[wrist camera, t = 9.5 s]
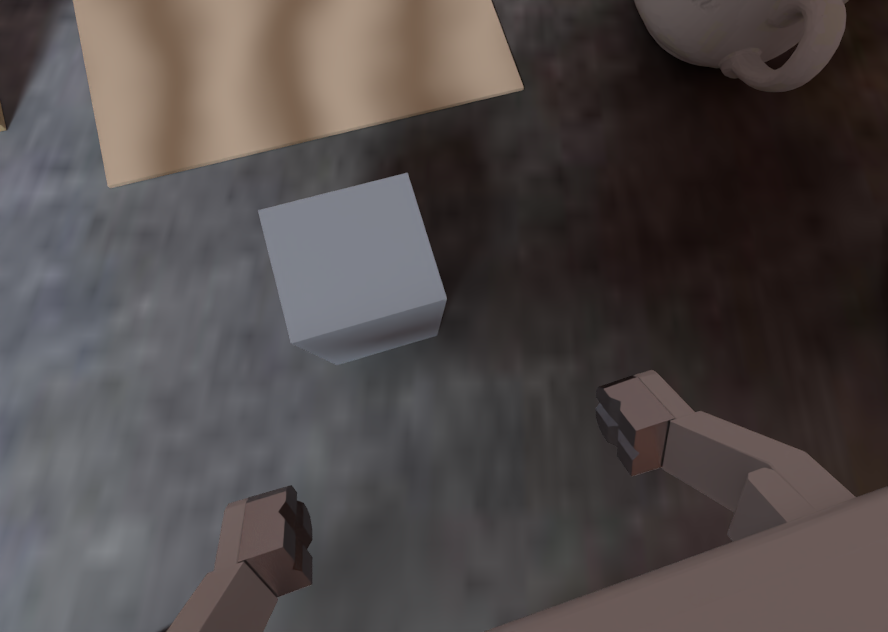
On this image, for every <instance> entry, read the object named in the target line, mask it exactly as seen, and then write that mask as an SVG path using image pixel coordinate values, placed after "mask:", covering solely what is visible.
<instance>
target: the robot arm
mask: <svg viewBox="0 0 888 632" xmlns="http://www.w3.org/2000/svg"><path fill="white" fill-rule="evenodd" d="M596 398H597V399H598V401H599V402H600V404H599V405H598V406H597V408H596V419H597V423H598V426H599V429H600V431H601V433H602V435H603V436H604V438H605V439H606V441H607V442H608V443H610V444H612V445H614V446H616V447H617V457H618V458H619V460H620V461H621V463H622V464H623V466H624V467H625V468H626V470H627V471H628V473H629V474H630V476H631V477H632V476H635V475H638V474H641V473H645V472H648V471H651V470H654V469H658V468H661V467H662V469H663V470H665V471H667V472H668V473H670V474H672V475H673V476H675V477H677V478H678V479H680V480H682V481H683V482H685V483H687V484H688V485H690V486H692V487H693V488H695V489H697V490H698V491H700V492H702V493H703V494H705V495H706V496H708V497H710V498H711V499H713V500H715V501H716V502H718V503H720V504H721V505H723V506H725V507H726V508H728V509H730V510H731V511H733V512H734V515H733V518H732V521H731V524H730V527H729V530H728V536H729V537H730V538H731V540H732V541H733V542H731V543H728V544H725V545H723V546H720V547H717V548H714V549H712V550H709V551H706V552H703V553H700V554H698V555H695V556H692V557H689V558H687V559H684V560H681V561H678V562H675V563H673V564H670V565H667V566H664V567H662V568H659V569H656V570H653V571H650V572H648V573H645V574H642V575H639V576H637V577H634V578H631V579H628V580H626V581H623V582H620V583H617V584H614V585H612V586H609V587H606V588H603V589H601V590H598V591H595V592H592V593H589V594H587V595H584V596H581V597H578V598H576V599H573V600H570V601H567V602H564V603H562V604H559V605H556V606H553V607H551V608H548V609H545V610H542V611H539V612H537V613H534V614H531V615H528V616H526V617H523V618H520V619H517V620H515V621H512V622H509V623H506V624H503V625H501V626H498V627H495V628H492V629H490V630H487V631H484V632H888V486H887V487H884V488H881V489H878V490H875V491H873V492H870V493H867V494H864V495H862V496H859V497H855V496H854V495H853V494H852V493H851V492H849V491H848V490H847V489H846V488H845V487H844V486H843V485H842V484H841V483H839V482H838V481H837V480H836V479H835V478H834V477H833V476H832V475H830V474H829V473H828V472H827V471H826V470H825V469H824V468H823V467H822V466H820V465H819V464H818V463H817V462H816V461H815V460H814V459H813V458H812V457H810V456H809V455H808V454H807V453H806V452H804V451H802V450H799V449H797V448H794V447H791V446H789V445H786V444H784V443H781V442H779V441H776V440H774V439H771V438H768V437H766V436H763V435H761V434H758V433H756V432H753V431H751V430H748V429H746V428H743V427H740V426H738V425H735V424H733V423H730V422H728V421H725V420H723V419H720V418H717V417H715V416H712V415H710V414H707V413H705V412H702V411H698V412H694V411H693V410H692V409H691V408H690V407H689V405H688V404H687V403H686V402H685V401H684V400H683V399H682V398H681V397H680V396H679V395H678V394H677V393H676V392H675V391H674V390H673V389H672V388H671V387H670V386H669V385H668V384H667V383H666V382H665V381H664V380H663V379H662V378H661V377H660V376H659V374H658V373H657V372H655V371H653V370H649V371H646V372H643V373H640V374H637V375H634V376H629V377H626V378H623V379H620V380H617V381H614V382H611V383H608V384H605V385H602V386H599V387H598V388H597V390H596ZM311 541H312V525H311V519H310V515H309V512H308V510H307V508H306V506H305V504H304V503H303V502H300V501H297V492H296V491H295V489H294V488H293V487H292V485H291V486H287V487H283V488H280V489H276V490H273V491H269V492H266V493H262V494H259V495H256V496H252V497H249V498H246V499H242V500H239V501H236V502H232V503H229V504H228V505H227V507H226V509H225V511H224V516H223V521H222V527H221V533H220V538H219V544H218V549H217V555H216V561H215V566H214V571H212V572H210V573H207V575H206V576H205V577H204V579H203V580H202V582H201V583H200V584H199V586H198V587H197V589H196V590H195V592H194V593H193V594H192V596H191V597H190V599H189V600H188V602H187V603H186V604H185V606H184V607H183V609H182V610H181V612H180V613H179V614H178V616H177V617H176V619H175V620H174V621H173V623H172V624H171V626H170V627H169V629H168V630H167V631H166V632H263V631H264V629H265V626H266V624H267V622H268V620H269V618H270V616H271V614H272V612H273V609H274V607H275V605H276V603H277V601H278V598H277V597H280V596H283V595H285V594H288V593H291V592H294V591H296V590H299V589H302V588H304V587H307V586H310V585H312V556H311V555H310V553H309V552H308V550H307V548H308V546H309V545H310V543H311Z"/></svg>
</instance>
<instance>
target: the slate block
mask: <svg viewBox="0 0 888 632" xmlns="http://www.w3.org/2000/svg"><path fill="white" fill-rule="evenodd" d="M258 213H259V217H260V221H261V225H262V229H263V233H264V237H265V241H266V245H267V249H268V253H269V257H270V261H271V265H272V269H273V273H274V277H275V281H276V285H277V289H278V293H279V297H280V301H281V305H282V309H283V313H284V317H285V321H286V325H287V329H288V333H289V337H290V342H291V344H293V345H295V346H297V347H300V348H302V349H304V350H306V351H308V352H310V353H312V354H314V355H317V356H319V357H321V358H323V359H325V360H327V361H329V362H331V363H334V364H336V365H339V364H342V363H346V362H349V361H353V360H356V359H359V358H363V357H366V356H370V355H373V354H376V353H380V352H383V351H387V350H390V349H393V348H397V347H400V346H404V345H407V344H410V343H414V342H417V341H421V340H424V339H427V338H431V337H434V336H437V334H438V330H439V326H440V323H441V319H442V315H443V312H444V308H445V304H446V301H447V297H446V294H445V291H444V288H443V284H442V281H441V278H440V275H439V272H438V268H437V265H436V262H435V259H434V256H433V252H432V249H431V246H430V243H429V240H428V236H427V233H426V230H425V227H424V224H423V221H422V217H421V214H420V211H419V208H418V205H417V201H416V198H415V195H414V192H413V189H412V185H411V182H410V179H409V176H408V173H404V174H400V175H396V176H392V177H388V178H384V179H380V180H376V181H372V182H369V183H365V184H361V185H357V186H353V187H349V188H345V189H341V190H337V191H333V192H329V193H325V194H321V195H317V196H313V197H309V198H305V199H301V200H297V201H293V202H289V203H285V204H281V205H277V206H274V207H270V208H266V209H262V210H258Z"/></svg>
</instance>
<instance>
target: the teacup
mask: <svg viewBox="0 0 888 632" xmlns="http://www.w3.org/2000/svg"><path fill="white" fill-rule="evenodd" d="M848 1H849V0H634V2H635V5H636V8H637V10H638V12H639V14H640V16H641V18H642V20H643V22H644V24H645V26H646V28H647V30H648V32H649V33H650V34H651V36H652V37H653V38H654V40H655V41H656V42H657V43H658V44H659V45H660V46H661V47H662V48H663V49H664V50H665V51H666V52H668V53H670V54H671V55H673V56H674V57H676V58H678V59H680V60H682V61H685V62H688V63H690V64H694V65H698V66H705V67H712V68H720V69H721V71H722V73H723V74H724V75H725V76H727V77H729V78H734V79H735V78H739V79H740V80H742V81H743V82H744V83H746V84H747V85H748V86H750V87H752V88H755V89H757V90H760V91H765V92H785V91H789V90H793V89H795V88H798V87H800V86H802V85H804V84H806V83H807V82H809V81H810V80H811V79H812V78H814V77H815V76H816V75H817V74H818V73H819V72H820V71H821V70H822V69H823V68H824V67H825V66H826V65H827V63H828V62H829V60H830V59H831V57H832V56H833V54H834V53H835V51H836V49H837V48H838V46H839V44H840V41H841V39H842V36H843V33H844V30H845V24H846V8H845V5H844V4H845V3H846V2H848ZM798 42H799V44H798V46H797V48H796V50H795V51H794V53H793V54H792V55H791V57H790V58H789V60H788V61H787V62H786V63H785V64H784V65H783V66H782V67H781V68H778V69H776V70H773V69H771V68H770V67H768V66H767V65H766V64H765V63H764V62H767V61H769V60H771V59H773V58H775V57H777V56H779V55H781V54H782V53H784V52H786V51H787V50H789V49H790V48H792V47H793V46H794V45H796V44H797V43H798Z"/></svg>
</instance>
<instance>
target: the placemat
mask: <svg viewBox="0 0 888 632" xmlns="http://www.w3.org/2000/svg"><path fill="white" fill-rule="evenodd" d="M73 4H74V9H75V14H76V20H77V25H78V30H79V35H80V41H81V46H82V51H83V57H84V62H85V67H86V73H87V78H88V83H89V88H90V94H91V99H92V104H93V110H94V115H95V120H96V126H97V131H98V136H99V141H100V147H101V152H102V157H103V163H104V168H105V173H106V179H107V184H108V187H110V188H114V187H118V186H122V185H126V184H130V183H135V182H139V181H143V180H147V179H151V178H156V177H160V176H164V175H168V174H172V173H177V172H181V171H185V170H189V169H193V168H198V167H202V166H206V165H210V164H214V163H219V162H223V161H227V160H231V159H235V158H239V157H244V156H248V155H252V154H256V153H260V152H265V151H269V150H273V149H277V148H281V147H286V146H290V145H294V144H298V143H302V142H307V141H311V140H315V139H319V138H323V137H328V136H332V135H336V134H340V133H344V132H349V131H353V130H357V129H361V128H365V127H370V126H374V125H378V124H382V123H386V122H391V121H395V120H399V119H403V118H407V117H412V116H416V115H420V114H424V113H428V112H433V111H437V110H441V109H445V108H449V107H454V106H458V105H462V104H466V103H470V102H475V101H479V100H483V99H487V98H491V97H496V96H500V95H504V94H508V93H512V92H517V91H521V90H523V88H524V87H523V84H522V81H521V79H520V76H519V73H518V71H517V68H516V65H515V63H514V60H513V57H512V55H511V52H510V49H509V46H508V44H507V41H506V38H505V36H504V33H503V30H502V28H501V25H500V22H499V20H498V17H497V14H496V12H495V9H494V6H493V4H492V1H491V0H73Z"/></svg>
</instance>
